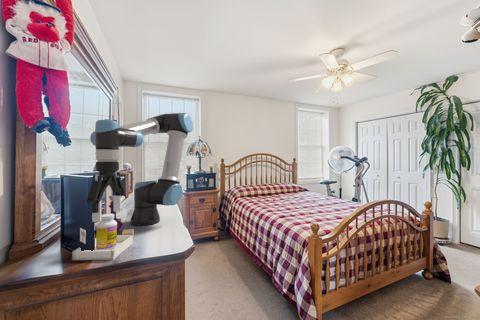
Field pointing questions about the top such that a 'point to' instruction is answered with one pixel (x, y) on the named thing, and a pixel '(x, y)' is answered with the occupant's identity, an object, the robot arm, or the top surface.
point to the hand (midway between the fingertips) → (108, 216)
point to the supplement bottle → (106, 233)
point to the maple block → (128, 232)
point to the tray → (121, 245)
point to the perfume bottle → (115, 215)
